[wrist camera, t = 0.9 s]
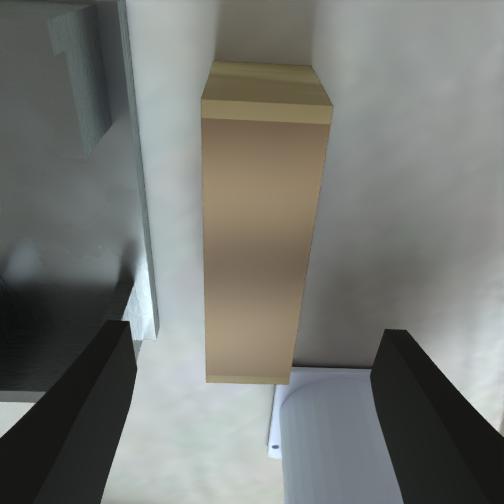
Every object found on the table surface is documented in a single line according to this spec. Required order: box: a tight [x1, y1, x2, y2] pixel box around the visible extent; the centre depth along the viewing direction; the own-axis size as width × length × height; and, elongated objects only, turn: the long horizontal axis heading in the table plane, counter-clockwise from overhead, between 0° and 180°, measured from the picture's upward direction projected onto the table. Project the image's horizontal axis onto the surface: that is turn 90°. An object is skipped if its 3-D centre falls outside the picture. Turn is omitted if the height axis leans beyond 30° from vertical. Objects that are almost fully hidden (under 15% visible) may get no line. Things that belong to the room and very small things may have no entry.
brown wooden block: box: [201, 61, 333, 385], centre depth 17 cm, size 12×4×5 cm, turn 177°
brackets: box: [0, 0, 159, 403], centre depth 17 cm, size 16×8×5 cm, turn 177°
